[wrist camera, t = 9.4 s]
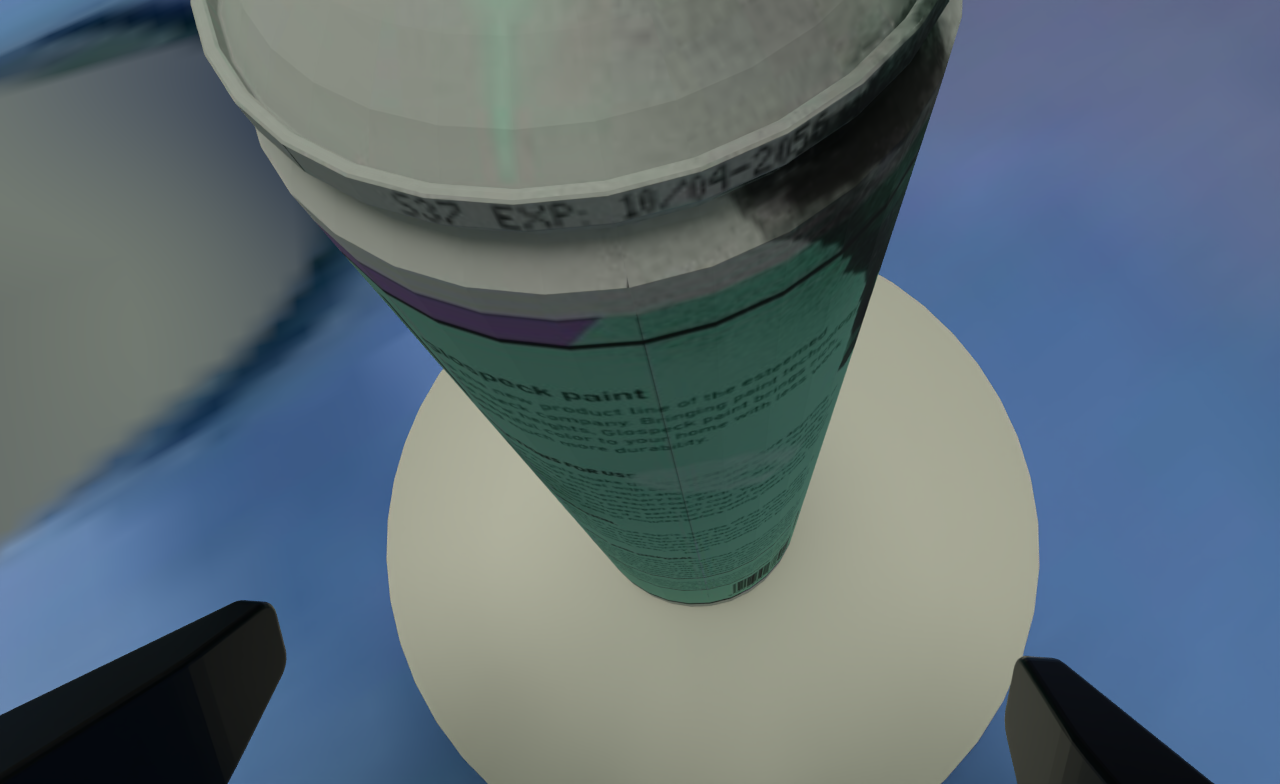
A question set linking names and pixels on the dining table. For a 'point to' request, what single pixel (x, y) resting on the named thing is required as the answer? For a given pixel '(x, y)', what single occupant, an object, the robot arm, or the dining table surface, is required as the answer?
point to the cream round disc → (747, 626)
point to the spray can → (613, 228)
